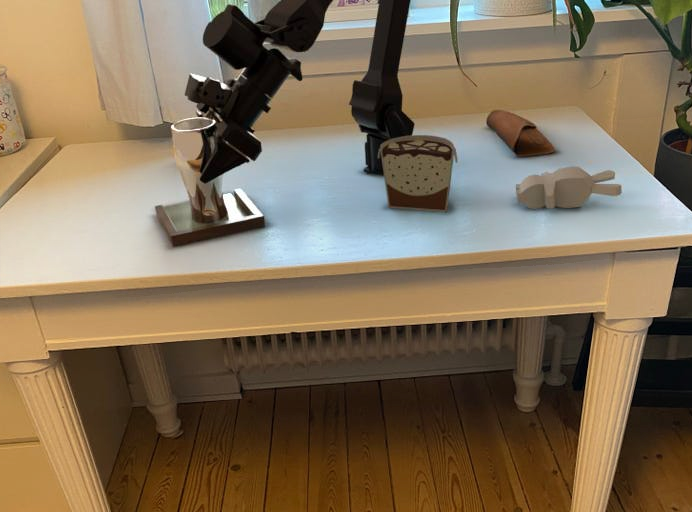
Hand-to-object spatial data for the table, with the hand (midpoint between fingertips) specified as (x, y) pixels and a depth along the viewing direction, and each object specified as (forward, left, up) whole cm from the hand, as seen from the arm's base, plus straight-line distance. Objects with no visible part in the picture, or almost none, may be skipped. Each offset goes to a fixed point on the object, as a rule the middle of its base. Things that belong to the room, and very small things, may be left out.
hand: (196, 172), depth 115 cm
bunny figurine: (-50, -25, -8) cm, 57 cm away
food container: (-29, -18, -8) cm, 36 cm away
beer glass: (-1, -1, -8) cm, 8 cm away
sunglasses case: (-35, -52, -8) cm, 63 cm away
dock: (0, 0, -8) cm, 8 cm away
